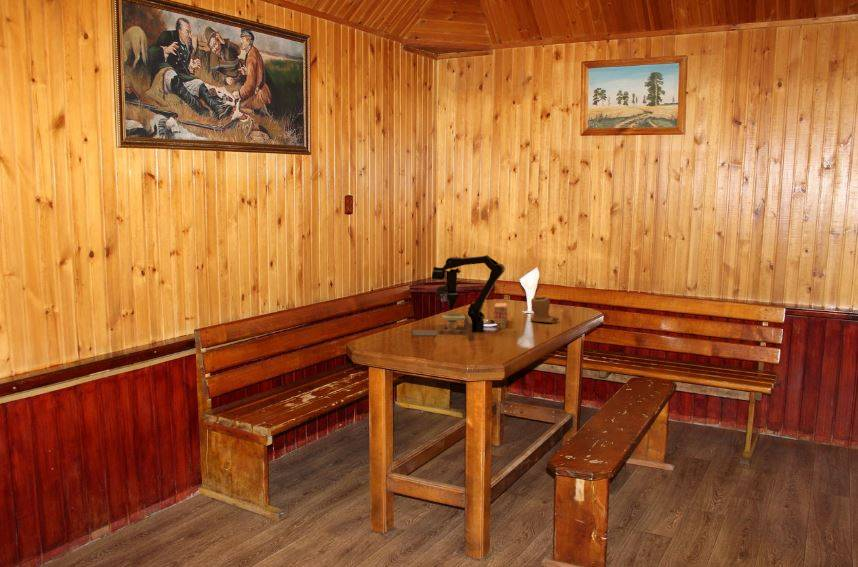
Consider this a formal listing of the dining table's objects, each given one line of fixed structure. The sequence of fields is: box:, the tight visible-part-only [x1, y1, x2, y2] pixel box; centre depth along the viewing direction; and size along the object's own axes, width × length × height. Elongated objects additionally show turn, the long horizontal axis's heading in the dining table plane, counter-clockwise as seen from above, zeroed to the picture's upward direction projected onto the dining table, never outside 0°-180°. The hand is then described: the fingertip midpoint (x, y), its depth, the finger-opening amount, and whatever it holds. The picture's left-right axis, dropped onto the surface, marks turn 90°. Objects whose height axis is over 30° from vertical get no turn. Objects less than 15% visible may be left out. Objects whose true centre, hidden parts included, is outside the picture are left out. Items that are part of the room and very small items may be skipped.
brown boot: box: [530, 295, 560, 324], centre depth 422 cm, size 15×12×15 cm
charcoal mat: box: [412, 329, 438, 338], centre depth 382 cm, size 12×12×1 cm
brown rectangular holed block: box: [437, 313, 473, 341], centre depth 381 cm, size 16×25×9 cm, turn 3°
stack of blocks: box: [493, 302, 508, 330], centre depth 413 cm, size 21×6×12 cm, turn 172°
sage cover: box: [441, 312, 466, 321], centre depth 387 cm, size 12×8×3 cm, turn 93°
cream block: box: [446, 320, 458, 330], centre depth 388 cm, size 4×4×6 cm
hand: (450, 309), depth 396 cm, fingers closed
